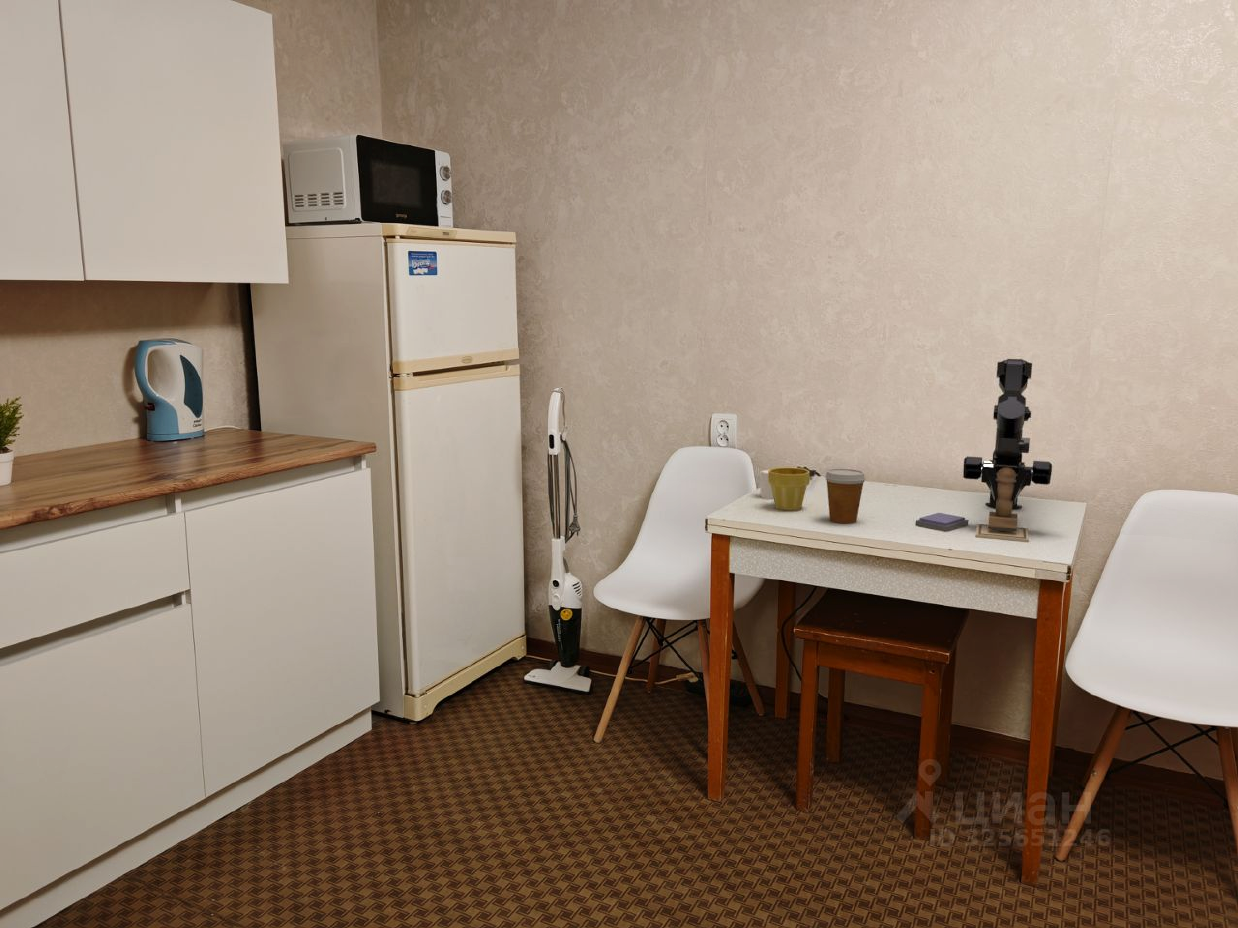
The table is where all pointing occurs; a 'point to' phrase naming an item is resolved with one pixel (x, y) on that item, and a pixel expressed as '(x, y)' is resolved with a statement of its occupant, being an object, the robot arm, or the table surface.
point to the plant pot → (788, 487)
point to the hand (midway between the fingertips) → (1004, 500)
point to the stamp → (1004, 502)
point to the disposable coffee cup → (844, 494)
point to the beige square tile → (1002, 533)
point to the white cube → (765, 485)
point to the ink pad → (942, 522)
